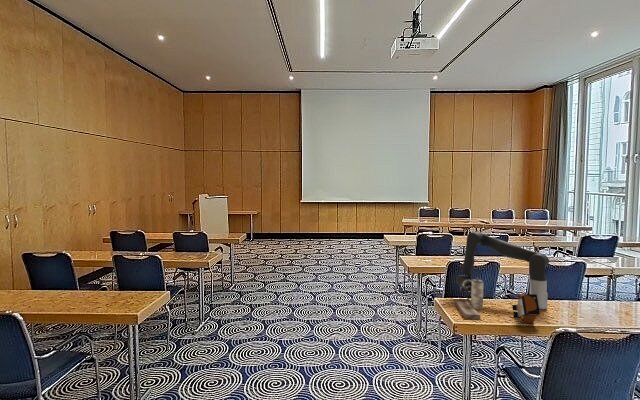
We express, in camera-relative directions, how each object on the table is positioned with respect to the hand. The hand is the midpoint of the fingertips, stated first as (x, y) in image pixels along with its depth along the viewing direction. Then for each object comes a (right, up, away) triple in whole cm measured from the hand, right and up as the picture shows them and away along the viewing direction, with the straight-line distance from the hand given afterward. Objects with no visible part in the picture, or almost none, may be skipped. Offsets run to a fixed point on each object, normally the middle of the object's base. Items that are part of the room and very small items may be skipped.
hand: (475, 291), depth 266 cm
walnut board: (-10, -9, -14) cm, 20 cm away
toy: (+16, -10, -32) cm, 37 cm away
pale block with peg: (-1, -9, -6) cm, 10 cm away
